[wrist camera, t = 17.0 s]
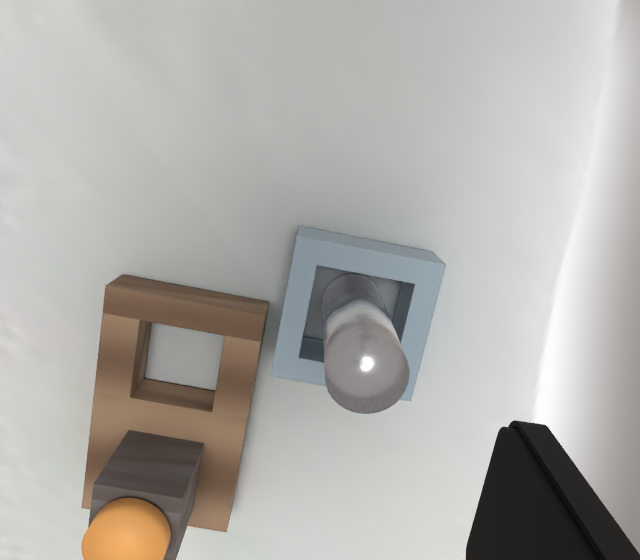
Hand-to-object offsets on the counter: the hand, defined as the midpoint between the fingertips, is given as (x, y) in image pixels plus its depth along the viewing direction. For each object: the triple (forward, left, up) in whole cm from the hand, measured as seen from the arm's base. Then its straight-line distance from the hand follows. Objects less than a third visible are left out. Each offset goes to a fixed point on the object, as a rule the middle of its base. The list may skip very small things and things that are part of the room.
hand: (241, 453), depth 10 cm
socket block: (+13, -6, -28) cm, 31 cm away
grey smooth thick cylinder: (+4, +5, -28) cm, 28 cm away
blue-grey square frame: (+4, +5, -28) cm, 28 cm away
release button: (+17, -6, -24) cm, 30 cm away
